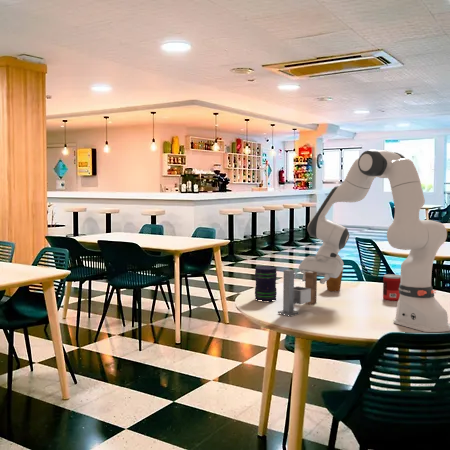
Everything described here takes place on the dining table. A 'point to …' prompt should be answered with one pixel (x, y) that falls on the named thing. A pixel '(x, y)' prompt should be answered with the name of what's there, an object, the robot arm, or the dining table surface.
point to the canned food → (391, 287)
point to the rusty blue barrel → (265, 283)
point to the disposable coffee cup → (334, 282)
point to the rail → (311, 285)
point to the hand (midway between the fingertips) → (312, 281)
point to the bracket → (293, 294)
